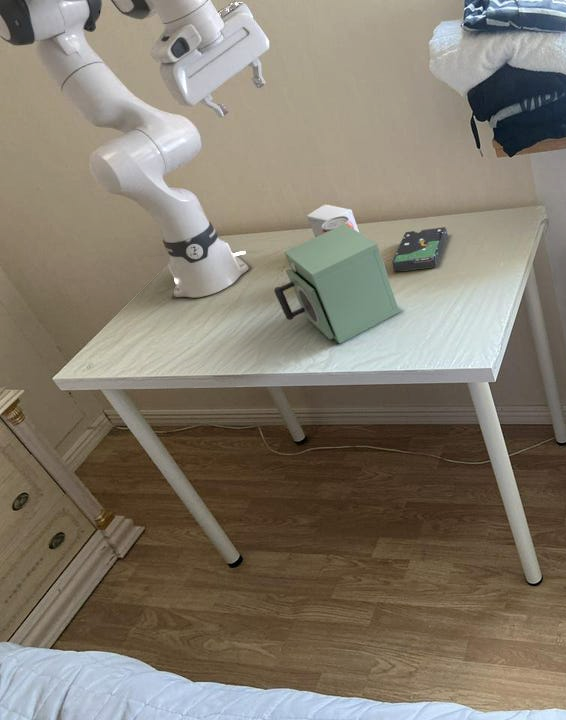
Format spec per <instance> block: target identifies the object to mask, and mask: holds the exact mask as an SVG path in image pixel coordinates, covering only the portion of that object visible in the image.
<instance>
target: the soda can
mask: <svg viewBox="0 0 566 720" xmlns="http://www.w3.org/2000/svg"><path fill="white" fill-rule="evenodd" d="M343 224H346V225H348V226H349V227H351V228H353V229H354V226H353V224H352V223H351V222H350V221H349V219H348V217H346V216H339V217H335V218H332V219H329V220H327V221H326V222H324V223H323V225H322V229H323V231H322V234H324V233H326V232H328V231H330V230H333V229H335V228H337V227H339V226H341V225H343ZM354 230H355V229H354Z"/></svg>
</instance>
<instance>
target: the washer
mask: <svg viewBox="0 0 566 720" xmlns="http://www.w3.org/2000/svg"><path fill="white" fill-rule="evenodd" d="M283 253H284V256H285V258H286V260H287V262H288V265H289V267H290V269H291V270H292V271H293V272H294V273H295V274H297V275H298V276H299V277H300V278H301V279H302V280H304V281H305V282H306V283H307V284H308V285H309V286H311V287H312V288H313V289H314V290H315V292H316V295H317V297H318V300H319V302H320V305H321V307H322V310H323V312H324V314H325V317H326V319H327V322H328V324H329V327H330V329H331V332H332V334H333V337H334V338H333V339H334V340H335V341H336V342H337V343H339V344H342V343H345V342H346V341H348V340H350V339H352V338H354V337H356V336H357V335H360V334H361V333H363V332H365V331H368V330H369V329H371V328H373V327H374V326H377V325H379V324H380V323H383V322H385V321H386V320H388V319H390V318H391V317H393V316H395V315H398V314H399V313H400V309H399V306H398V303H397V300H396V297H395V294H394V291H393V288H392V286H391V283H390V282H391V281H390V279H389V276H388V272H387V269H386V267H385V264H384V260H383V258H382V255H381V251H380V249H379V245H378V243H377V242H375V241H374V240H372V239H370V238H369V237H367V236H365V235H364V234H362V233H360V231H359V232H357V231H356V230H354V229H353V228H351V227H349V226H348V225H346V224H343V225H341V226H339V227H337V228H335V229H333V230H330V231H328V232H326V233H324V234H322V235H319V236H317V237H315V236H314V237H313V238H311V239H309V240H306V241H305V242H302V243H300V244H298V245H296V246H294V247H291V248H289V249H287V250H285V251H283Z"/></svg>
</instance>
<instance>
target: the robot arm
mask: <svg viewBox="0 0 566 720" xmlns="http://www.w3.org/2000/svg"><path fill="white" fill-rule="evenodd" d="M110 1H111V3H112V4H113V5H114V7H115V8H116V9H117V10H118V11H119V13H121V14H122V15H125V16H127V17H129V18H131V19H135V20H145V19H148V18H152V17H153V16H155V15H156V14H157V15H158V16H159V19H160V21H161V23H162V25H163V26H164V30H163V31H162V32H161V34H160V36H159V37H158V39H157V40H156V42H155V44H154V45H153V46H152V47H151V49H150V52H149V55H150V56H151V58H152V60H153V61H154V62H156V63H159V64H160V65H159V73H160V76H161V79H162V81H163V83H164V84H165V87H166V88H167V90H168V91H169V94H170V95H171V96H172V97H173V99H174V100H175V102H176V103H177V104H178V105H179V106H183V107H186V108H187V107H188V108H192V107H194V106H195V105H197V104H198V103H199V102H200V103H201V104H202V105H204V106H206V107H208V108H210V109H212V110H213V111H214V113H215V114H216V116H217V117H218V118H222V119H223V118H224V117H225V116H226V115H228V114H229V111H228V109H226V106H225V105H224V103H217V104H216V103H214V102H212V101H213V96H212V95H211V93H213V92H215V91H216V90H217V89H218V88H219V87H221V86H222V85H223V84H225V83H226V82H227V81H229V80H230V79H231V78H232V77H234V76H236V75H237V74H238V73H240V72H241V71H242V70H244V69H245V68H246V67H247V66H248V67H249V68H252V75H253V77H252V78H250V81H251V82H252V84H253V85H254V87H255V88H256V89H261V88H262V87H264V86H265V85H266V84H267V83H266V81H265V79H264V77H263V75H262V74H263V71H262V62H261V61H260V59H259V57H261V56H262V55H263V54H265V53H267V51H269V49H270V40H269V38H268V36H267V35H266V33H265V32H264V31H263V29H262V28H261V27H260V25H259V24H258V22H257V21H256V20H255V18H254V16H253V13H252V11H251V9H250V8H249V6H248V5H247V3H246V2H245V3H244V2H243V1H236V0H233V1H232V2H229V3H228V5H226V6H225V7H222V8H221V9H220V10H217V9H216V7H215V6H214V3H213V2H212V0H110ZM102 5H103V1H102V0H0V38H1V39H2V40H3V41H5V42H7V43H9V44H10V45H12V46H17V47H19V46H20V47H21V46H28V45H33V44H34V43H35V42H36V44H35V54H36V57H37V58H38V60H39V62H40V63H41V65H42V67H43V69H44V70H45V72H46V73H47V75H48V77H49V78H50V79H51V81H52V82H53V83H54V84H55V86H56V87H57V88H58V89H59V91H60V92H61V93H62V94H63V95H64V97H65V98H66V99H67V100H68V101H69V103H70V104H71V105H72V106H73V107H74V108H75V110H76V111H77V112H78V113H79V114H80V116H81V117H82V118H83V119H84V120H85V121H86V122H87V123H89V124H90V125H92V126H95V127H98V128H105V129H113V130H117V131H120V132H122V133H123V134H120V135H119V136H117V137H114V138H111V139H109V140H108V141H105V143H103V144H101V146H99V147H98V148H96V149H95V150H94V151H93V152H91V153H90V154H89V157H88V158H89V159H88V167H89V172H90V175H91V177H92V178H93V180H94V181H95V183H96V184H97V185H98V187H100V188H101V189H103V190H104V191H106V192H108V193H111V194H113V195H116V196H121V197H125V198H127V199H129V200H132V201H133V202H135V203H136V204H138V205H139V206H140V207H141V208H142V209H143V210H145V212H146V213H147V214H148V216H149V217H150V219H151V220H152V222H153V223H154V225H155V227H156V228H157V231H158V232H159V234H160V235H161V237H162V243H163V245H164V248H165V251H167V253H168V255H169V256H170V258H169V260H168V264H167V267H168V269H169V271H170V273H171V275H172V277H173V279H174V283H175V286H174V289H173V296H174V297H175V298H182V297H183V298H184V297H185V298H186V297H187V298H192V299H193V298H203V297H207V296H210V295H214V294H217V293H219V292H221V291H223V290H224V289H225V290H226V288H228V287H230V286H231V285H233V284H234V283H236V281H237V280H239V278H240V277H241V276H242V275H243V274H245V273H246V272H247V271H249V270H250V267H249V265H248V264H247V263H245V262H244V260H243V259H241V258H240V257H239V256H241V255H246V254H247V252H246V250H243V251H242V250H241V251H238V252H233V251H232V249H231V246H230V245H229V243H228V242H225V240H223V239H221V238H219V237H218V233H217V230H216V228H215V226H214V225H213V224H212V222H210V221H209V219H208V217H207V215H206V213H205V211H204V209H203V207H202V204H201V203H200V200H199V198H198V197H197V196H196V194H194V193H193V192H192V191H191V190H189V189H186V188H182V187H181V188H180V187H169V186H168V184H167V183H166V182H165V180H164V176H166V175H168V174H169V173H171V172H174V171H175V170H177V169H179V168H181V167H183V166H186V165H187V164H188V163H190V161H192V160H193V159H194V158H195V157H196V156H197V155H198V154H200V152H201V150H202V137H201V134H200V131H199V130H198V128H197V126H196V125H195V124H194V123H193V121H191V120H190V119H189V118H187V117H185V116H184V115H181V114H176V113H172V112H167V111H163V110H161V109H158V108H156V107H154V106H152V105H150V104H148V103H147V102H145V101H143V100H142V99H140V98H139V97H138V96H136V95H135V94H134V93H133V92H131V90H129V88H127V86H126V85H125V84H123V82H122V81H121V80H120V79H119V78H118V77H117V76H116V74H115V73H114V72H113V71H112V70H111V68H110V67H109V66H108V65H107V64H106V62H104V60H103V59H102V58H101V57H100V56H99V55H98V54H97V52H95V50H94V49H93V48H92V47H91V45H90V44H89V42H88V41H87V39H86V36H85V31H86V32H87V33H88V32H89V33H92V32H93V33H94V31H95V30H96V29H97V26H96V23H97V21H98V20H99V19H100V15H101V12H102V7H103V6H102Z"/></svg>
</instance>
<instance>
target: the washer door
mask: <svg viewBox="0 0 566 720" xmlns="http://www.w3.org/2000/svg"><path fill="white" fill-rule="evenodd" d="M285 272H286V275H287V277H288V279H289V281H290V282H288V283H286V284H284V285H282V286H276V287H275V288H274V293H275V297H276V298H277V300H278V303H279V305H280V306H281V310H282V311H283V314H284V316H285V318H286V320H288V321H291V320H293V319H294V318H295V317H297V316H299V315H301V314H302V313H303V314H304V316H305V318H307V319H308V320H309V321H310V322H311V324H313V325H314V326H315V327H316V328H317V329H318V330H319V331H320V332H321V333H322V334H324V336H325V337H327V339H328V340H332V339H334V337H333V334H332V332H331V329H330V327H329V324H328V322H327V319H326V317H325V314H324V312H323V310H322V307H321V305H320V302H319V300H318V297H317V295H316V292H315V290H314V289H313V288H312V287H311V286H309V285H308V284H307V283H306V282H305V281H304V280H302V279H301V278H300V277H299V276H298V275H297V274H295V273H294V272H293V271H292V270H291V268H288V269H286V270H285ZM292 288H293V291H294V293H295V295H296V298H297V300H298V303H299V305H300V308H298V309H295V310H294V311H292V309H291V307H290V305H289V302H288V300H287V298H286V295H285V293H284V292H285V291H287V290H289V289H292Z"/></svg>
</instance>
